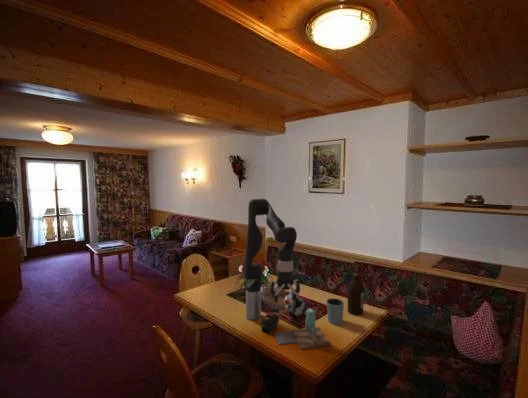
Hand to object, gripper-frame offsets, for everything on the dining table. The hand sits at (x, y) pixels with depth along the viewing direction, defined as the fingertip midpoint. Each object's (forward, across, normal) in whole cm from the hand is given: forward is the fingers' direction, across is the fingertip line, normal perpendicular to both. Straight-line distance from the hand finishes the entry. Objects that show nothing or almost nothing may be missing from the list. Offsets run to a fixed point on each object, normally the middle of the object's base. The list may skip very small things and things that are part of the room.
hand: (284, 301), depth 136 cm
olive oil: (+27, -55, -34) cm, 70 cm away
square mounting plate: (+26, -17, -10) cm, 33 cm away
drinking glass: (+27, -37, -25) cm, 52 cm away
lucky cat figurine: (+27, -17, -39) cm, 51 cm away
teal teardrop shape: (+21, -17, -10) cm, 29 cm away
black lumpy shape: (+27, +3, -23) cm, 35 cm away
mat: (+26, -4, -12) cm, 29 cm away
